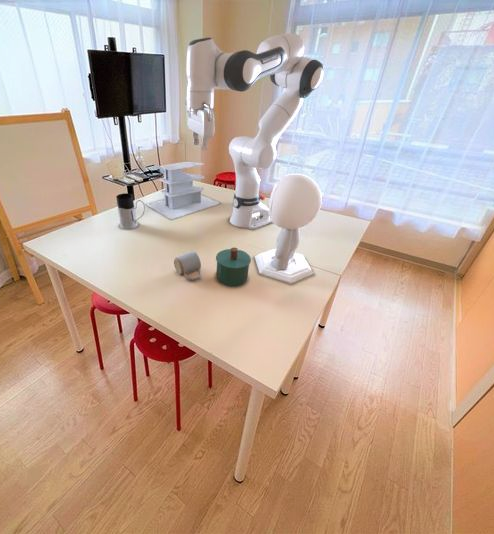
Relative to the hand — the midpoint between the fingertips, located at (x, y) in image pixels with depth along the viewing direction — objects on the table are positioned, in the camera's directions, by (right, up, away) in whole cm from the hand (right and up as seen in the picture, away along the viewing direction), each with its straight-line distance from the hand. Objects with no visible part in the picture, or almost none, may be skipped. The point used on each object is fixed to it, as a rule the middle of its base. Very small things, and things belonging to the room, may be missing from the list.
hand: (199, 147), depth 97 cm
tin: (+12, -47, +3) cm, 48 cm away
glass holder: (-32, -22, +38) cm, 55 cm away
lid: (+12, -40, -1) cm, 42 cm away
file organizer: (-9, -6, +61) cm, 62 cm away
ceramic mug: (-4, -45, +6) cm, 46 cm away
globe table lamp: (+33, -42, +10) cm, 54 cm away
